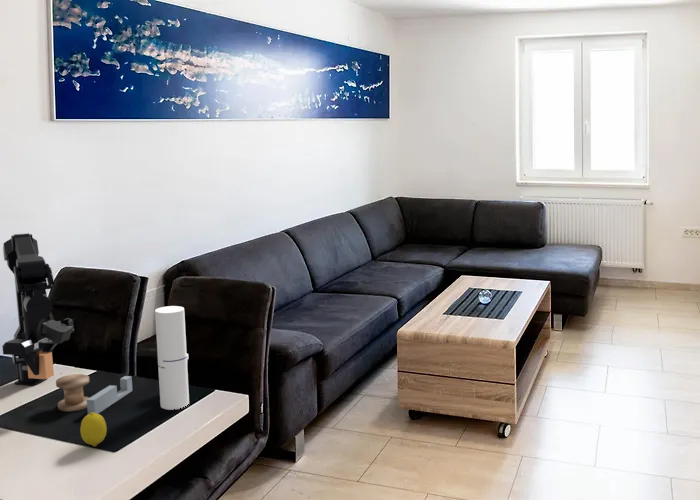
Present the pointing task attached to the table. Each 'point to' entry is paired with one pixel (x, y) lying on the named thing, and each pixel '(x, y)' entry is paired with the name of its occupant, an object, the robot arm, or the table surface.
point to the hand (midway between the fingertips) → (40, 372)
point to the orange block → (42, 367)
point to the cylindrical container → (172, 357)
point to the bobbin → (73, 392)
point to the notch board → (109, 395)
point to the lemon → (93, 429)
